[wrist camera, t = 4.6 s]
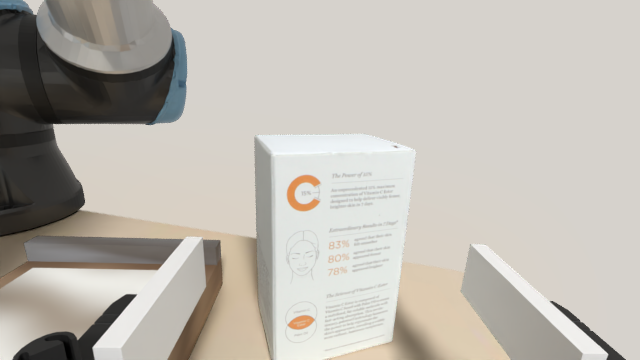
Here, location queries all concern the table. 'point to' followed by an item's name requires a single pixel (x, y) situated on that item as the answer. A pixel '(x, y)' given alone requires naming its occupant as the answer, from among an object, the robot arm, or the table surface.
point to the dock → (90, 286)
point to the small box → (329, 241)
